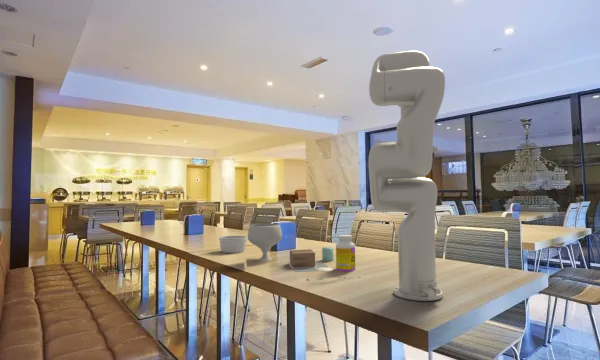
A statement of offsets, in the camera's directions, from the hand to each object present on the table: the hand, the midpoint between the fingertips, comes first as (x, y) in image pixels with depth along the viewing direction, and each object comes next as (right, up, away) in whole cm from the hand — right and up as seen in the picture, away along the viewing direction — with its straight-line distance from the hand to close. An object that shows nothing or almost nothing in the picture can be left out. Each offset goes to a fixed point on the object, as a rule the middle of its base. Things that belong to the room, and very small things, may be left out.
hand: (412, 172), depth 125 cm
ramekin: (-72, -37, +43) cm, 92 cm away
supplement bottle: (-25, -35, -4) cm, 43 cm away
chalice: (-54, -36, +16) cm, 67 cm away
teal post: (-29, -35, +12) cm, 48 cm away
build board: (-37, -35, +1) cm, 51 cm away
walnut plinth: (-40, -34, +4) cm, 52 cm away
